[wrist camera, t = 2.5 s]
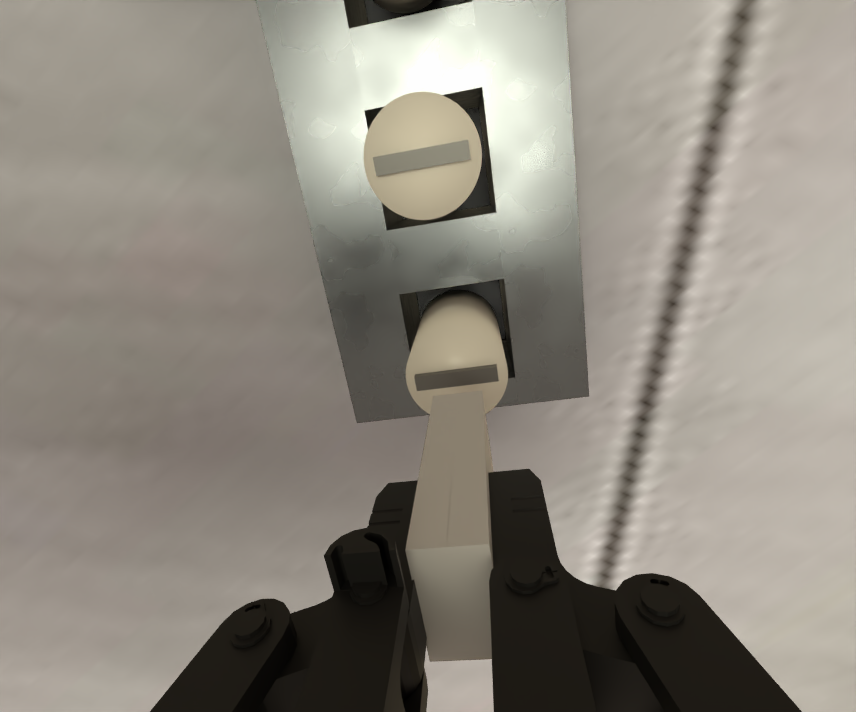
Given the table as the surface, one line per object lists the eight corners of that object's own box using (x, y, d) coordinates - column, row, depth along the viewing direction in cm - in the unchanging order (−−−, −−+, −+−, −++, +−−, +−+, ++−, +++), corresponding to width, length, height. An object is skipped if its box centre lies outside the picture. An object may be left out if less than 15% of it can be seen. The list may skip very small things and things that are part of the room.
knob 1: (399, 215, 23) (374, 229, 17) (383, 124, 22) (350, 103, 16) (482, 201, 23) (489, 210, 16) (471, 107, 22) (473, 78, 15)
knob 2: (427, 368, 26) (414, 430, 20) (414, 295, 25) (395, 337, 18) (502, 359, 25) (514, 419, 19) (492, 284, 24) (502, 322, 18)
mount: (376, 379, 31) (357, 422, 26) (277, -76, 23) (218, -156, 18) (565, 355, 30) (589, 396, 24) (529, -140, 22) (550, -249, 16)
